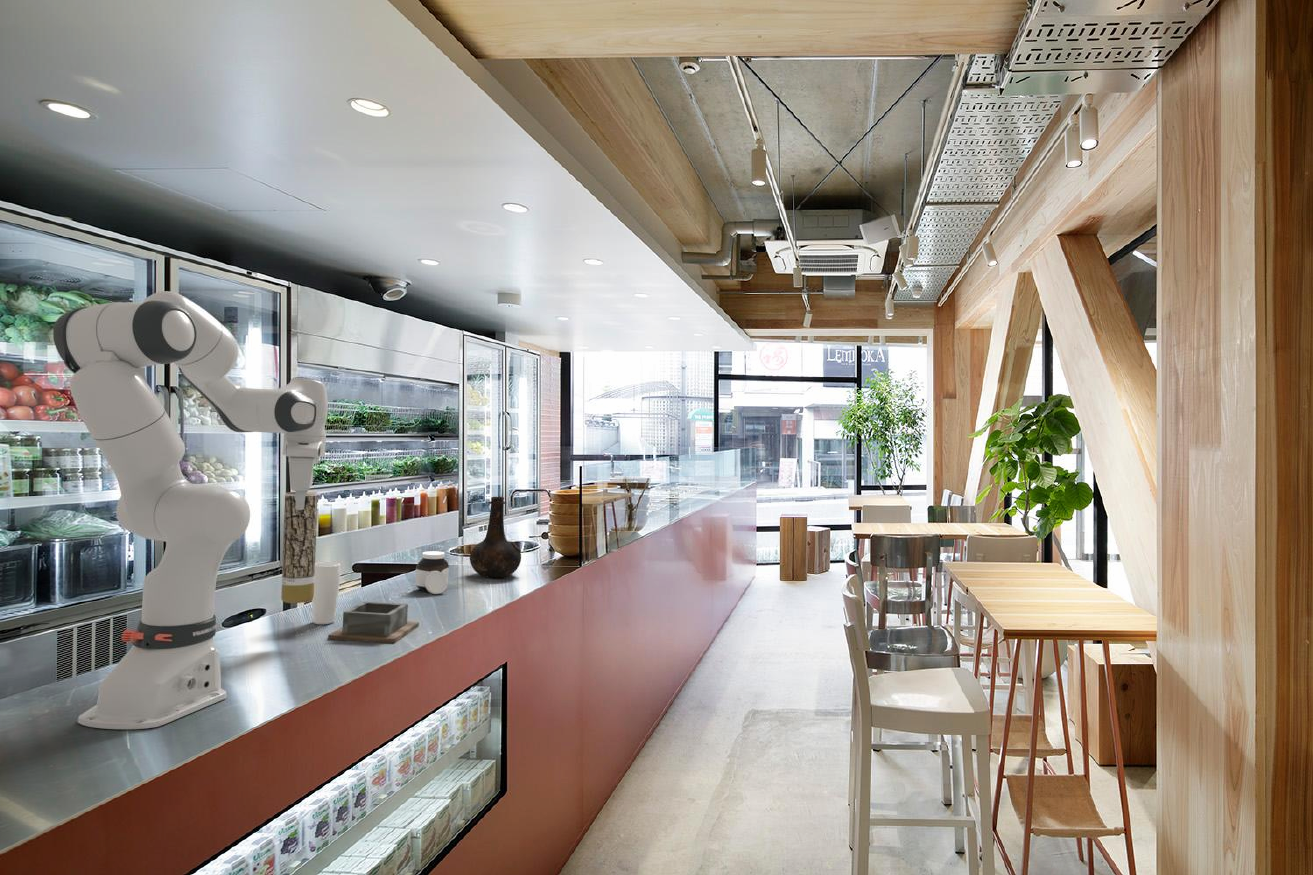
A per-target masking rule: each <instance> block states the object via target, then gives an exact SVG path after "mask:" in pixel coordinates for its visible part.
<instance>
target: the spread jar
mask: <svg viewBox="0 0 1313 875" xmlns="http://www.w3.org/2000/svg"><path fill="white" fill-rule="evenodd" d="M445 555H446V554H445V552H444V551H435V550H434V551H433V550H431V551H430V550H429V551H423V552H422V553H421V559H420V561H418V563H417V564H416V568H415V577H414V578H415V580H414V581H415V583H414V584H415V586H416V588H417V589H419V590H420V591H421V592H427V593H430V594H432V595H439V594H441V593H443V592H445V591H446V590H447V588H448V584H449V583H448V582H449V578H450V566H449V562H448V560H446V559H445Z"/></svg>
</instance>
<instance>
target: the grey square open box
mask: <svg viewBox="0 0 1313 875" xmlns="http://www.w3.org/2000/svg"><path fill="white" fill-rule="evenodd" d="M408 608H409V604H408V603H394V602H393V603H392V602H377V601H375V602H374V601H373V602H372V601H362V602H361V603H358V604H357V605H354V606H353V607H350V608H349V609H347V610H345V611H343V613H342V614H343V615H342V627H340V628H338V629H336V630H334V631H333V632H331V633H328V635H327V636H328V637H327V640H333V639H335V641H352V642H353V641H354V642H366V643H367V642H368V643H370V642H371V643H385V644H388V643H389V644H396V643H397V642H399V641H400V640H401V639H403V638H404V637H405V636H407V635H408V634H409V633H411V632H413V631H414V630H415V629H417V628H418V627H419V626H420V622H419V621H409V620H408V613H409V612H408Z"/></svg>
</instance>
